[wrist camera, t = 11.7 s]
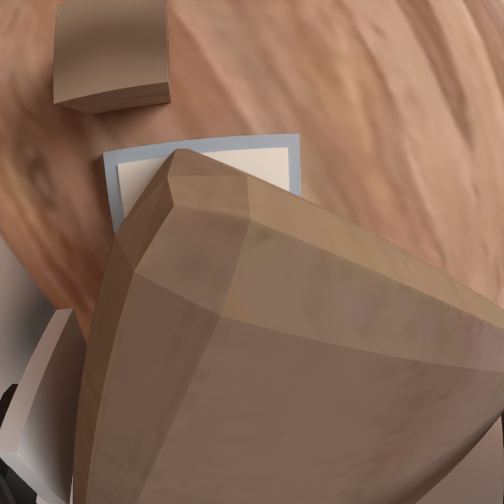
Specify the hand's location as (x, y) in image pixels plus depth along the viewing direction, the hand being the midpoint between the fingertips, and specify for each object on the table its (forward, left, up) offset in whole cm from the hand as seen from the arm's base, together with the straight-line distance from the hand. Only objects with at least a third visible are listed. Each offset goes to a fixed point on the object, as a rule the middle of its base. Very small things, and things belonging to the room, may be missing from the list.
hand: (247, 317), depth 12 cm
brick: (-13, -5, -14) cm, 19 cm away
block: (0, 0, -12) cm, 12 cm away
